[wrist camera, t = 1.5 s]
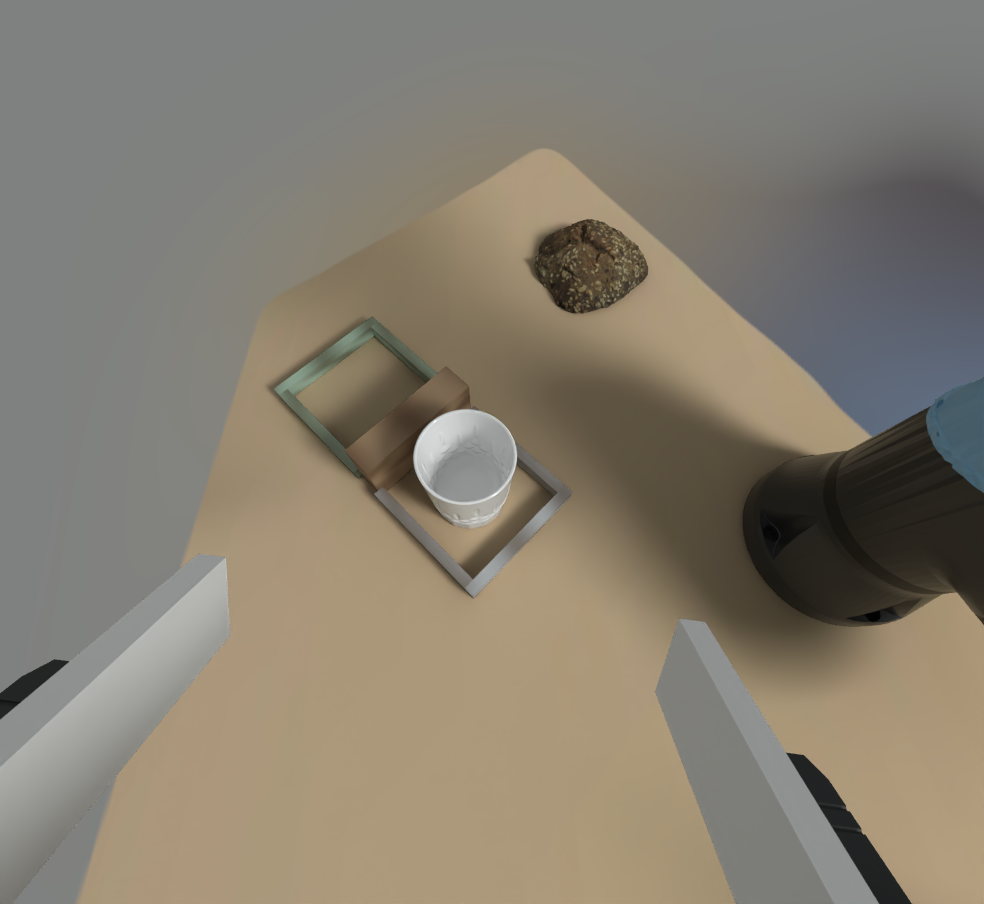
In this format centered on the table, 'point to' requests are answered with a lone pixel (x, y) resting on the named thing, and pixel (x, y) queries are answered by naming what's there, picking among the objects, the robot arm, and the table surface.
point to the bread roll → (589, 266)
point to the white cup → (466, 466)
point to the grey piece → (412, 443)
